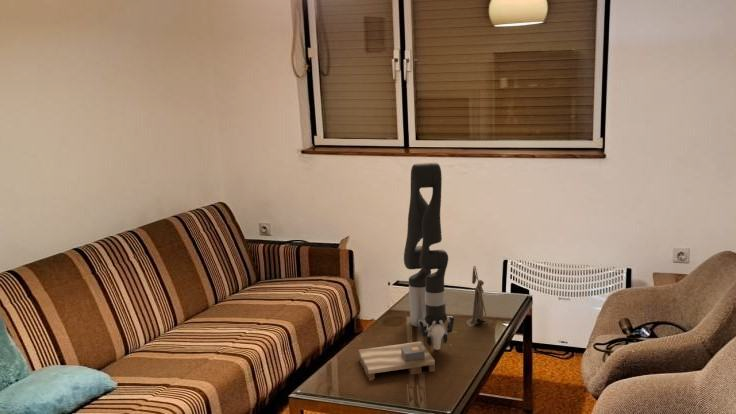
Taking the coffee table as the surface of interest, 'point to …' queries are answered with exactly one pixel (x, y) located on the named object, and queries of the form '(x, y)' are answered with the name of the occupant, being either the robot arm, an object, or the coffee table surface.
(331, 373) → the coffee table surface
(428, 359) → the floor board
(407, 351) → the grey box
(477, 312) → the wizard figurine
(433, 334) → the lightbulb
